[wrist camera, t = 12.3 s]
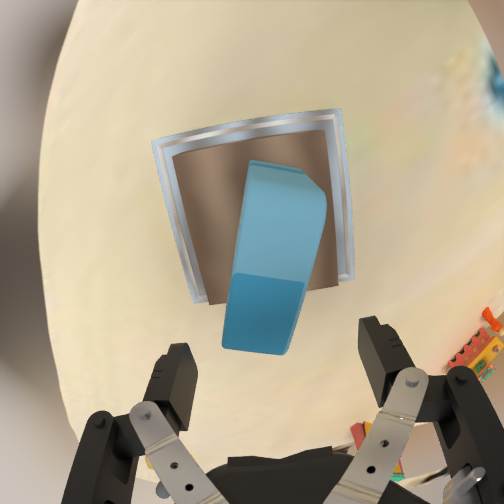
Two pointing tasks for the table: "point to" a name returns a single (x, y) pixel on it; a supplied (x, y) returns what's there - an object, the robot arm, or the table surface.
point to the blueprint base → (233, 184)
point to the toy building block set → (472, 357)
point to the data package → (272, 257)
